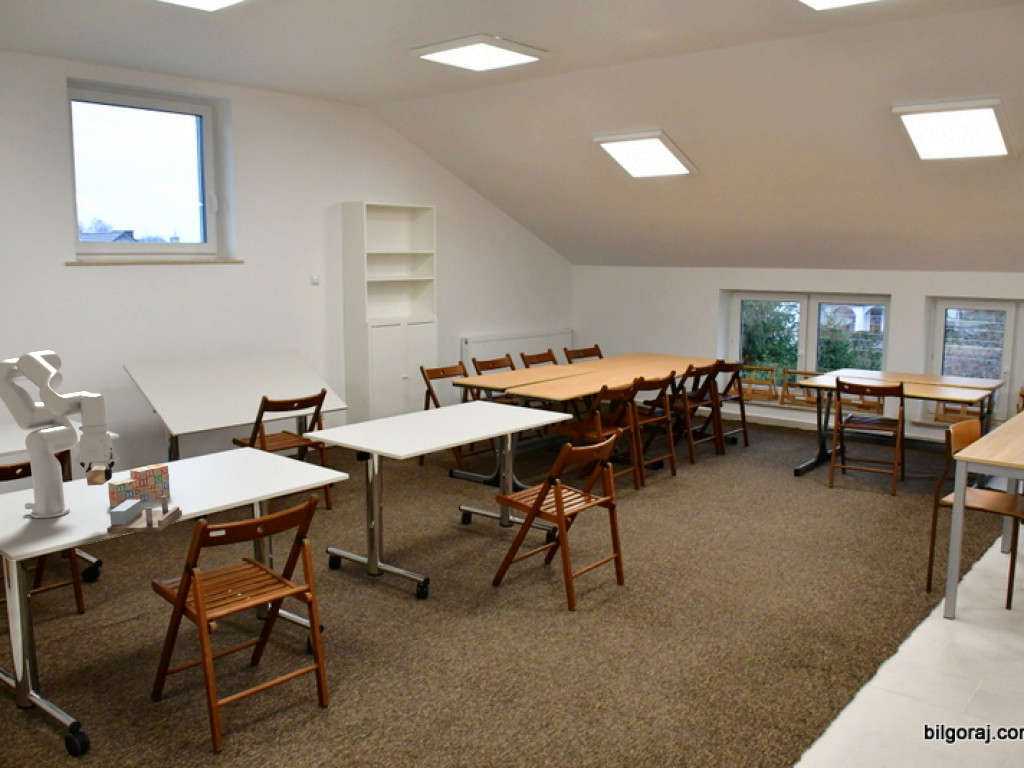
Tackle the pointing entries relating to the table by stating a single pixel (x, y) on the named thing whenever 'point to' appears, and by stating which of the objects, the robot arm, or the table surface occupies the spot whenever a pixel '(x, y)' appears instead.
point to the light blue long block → (125, 512)
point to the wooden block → (96, 476)
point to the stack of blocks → (140, 485)
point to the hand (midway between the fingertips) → (99, 479)
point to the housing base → (142, 522)
